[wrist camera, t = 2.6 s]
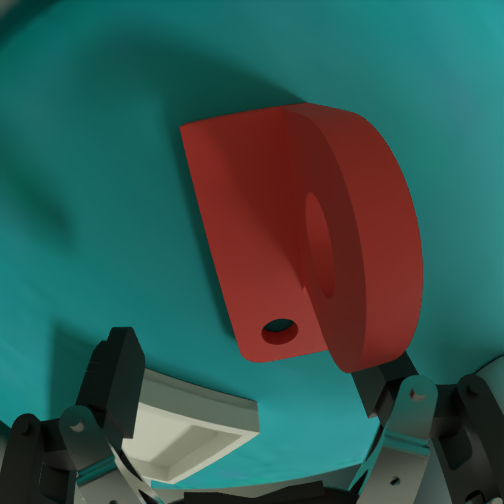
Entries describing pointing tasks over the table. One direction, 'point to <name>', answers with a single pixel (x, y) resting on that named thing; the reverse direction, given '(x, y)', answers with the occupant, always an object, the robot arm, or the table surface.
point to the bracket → (308, 232)
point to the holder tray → (186, 427)
